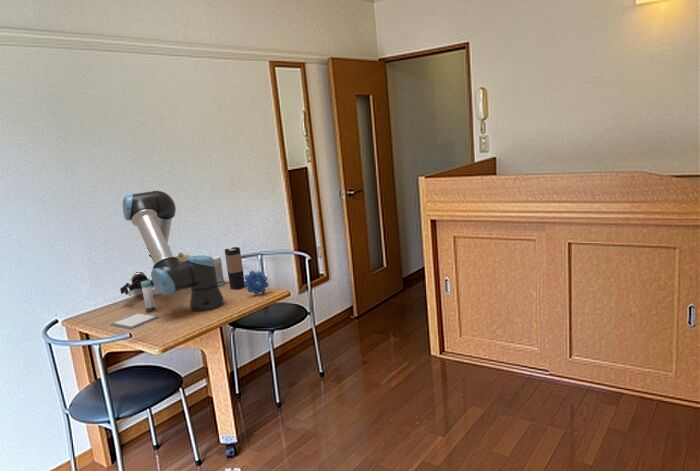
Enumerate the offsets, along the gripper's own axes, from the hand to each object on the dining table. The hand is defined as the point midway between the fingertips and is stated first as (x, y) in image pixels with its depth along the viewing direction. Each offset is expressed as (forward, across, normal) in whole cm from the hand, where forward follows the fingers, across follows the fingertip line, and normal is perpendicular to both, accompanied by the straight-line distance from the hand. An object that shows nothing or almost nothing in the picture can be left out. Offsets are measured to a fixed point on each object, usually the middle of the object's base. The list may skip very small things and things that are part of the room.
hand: (145, 290), depth 247 cm
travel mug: (+4, -43, -8) cm, 44 cm away
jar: (-24, -22, -8) cm, 33 cm away
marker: (+10, 0, -8) cm, 12 cm away
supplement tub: (-10, -35, -8) cm, 37 cm away
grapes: (+24, -47, -8) cm, 53 cm away
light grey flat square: (+20, +8, -8) cm, 23 cm away
